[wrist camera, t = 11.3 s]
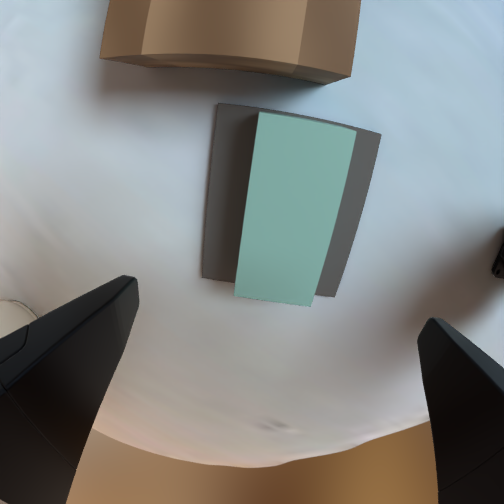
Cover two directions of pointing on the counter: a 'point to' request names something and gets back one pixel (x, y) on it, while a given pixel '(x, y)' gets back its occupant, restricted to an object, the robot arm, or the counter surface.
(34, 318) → the lidded jar
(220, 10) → the pocket board
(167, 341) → the counter surface
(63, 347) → the robot arm
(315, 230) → the teal slab
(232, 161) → the rubber mat
